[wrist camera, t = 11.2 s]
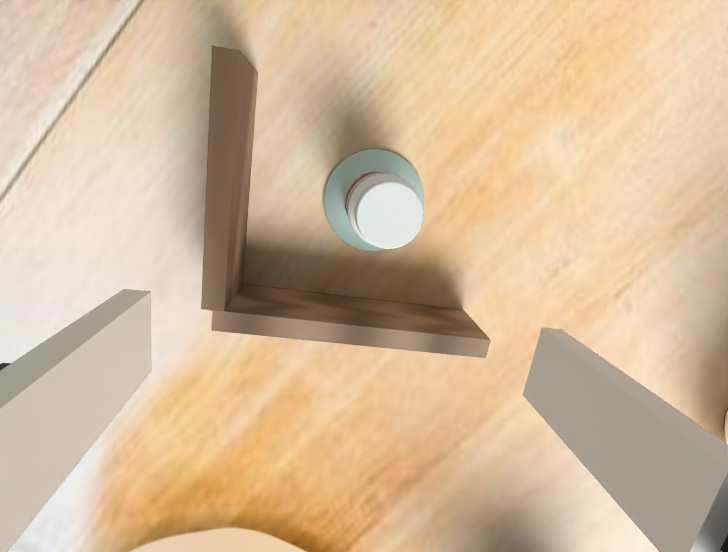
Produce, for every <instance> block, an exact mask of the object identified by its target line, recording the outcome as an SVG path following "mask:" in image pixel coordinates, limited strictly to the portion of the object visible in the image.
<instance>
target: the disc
mask: <svg viewBox="0 0 728 552" xmlns="http://www.w3.org/2000/svg"><path fill="white" fill-rule="evenodd" d="M372 171H378V172H384V173H389V174H395V175H398V176H400V177H402V178H404V179H405V180H406V181H408V182H409V183H410V184H411V185H412V187H413V188H414V189H415V191H416V193H417V195H418V197H419V199H420V201H421V204H422V208H423V207H424V192H423V187H422V183H421V181H420V178H419V176H418V174H417V172H416V171H415V170H414V168H413V167H412V166H411V165H410V164H409V163H408V162H407V161H406V160H405V159H404V158H402V157H401V156H399V155H397V154H395V153H392V152H390V151H386V150H380V149H369V150H363V151H360V152H357V153H355V154H352V155H350V156H349V157H347V158H346V159H344V160H343V161H342V162H341V163H340V164H339V165H338V166H337V167H336V168H335V169H334V171H333V172H332V174H331V176H330V178H329V180H328V182H327V185H326V189H325V194H324V208H325V213H326V217H327V220H328V222H329V224H330V226H331V228H332V229H333V231H334V232H335V233H336V234H337V236H338V237H339V238H341V239H342V240H343V241H344V242H346V243H347V244H349V245H351V246H353V247H355V248H358V249H361V250H366V251H381V250H386V249H384V248H379V247H376V246H374V245H371V244H369V243H367V242H365V241H363V240H362V239H361V238H359V237H358V236H357V235H356V233H355V232H354V231H353V229H352V227H351V225H350V222H349V219H348V216H347V213H346V210H345V195H346V191H347V189H348V187H349V185H350V184H351V183H352V181H353V180H354V179H356V178H357V177H358V176H360V175H362V174H364V173H367V172H372Z"/></svg>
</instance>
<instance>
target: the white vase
mask: <svg viewBox="0 0 728 552" xmlns="http://www.w3.org/2000/svg"><path fill="white" fill-rule="evenodd" d="M724 430H725V439H726V444H728V410H727V413H726V416H725V425H724Z"/></svg>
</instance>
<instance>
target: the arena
mask: <svg viewBox="0 0 728 552" xmlns="http://www.w3.org/2000/svg"><path fill="white" fill-rule="evenodd" d="M257 78H258V72H257V71H256V70H255V69H254V68H253V66H252V65H251V64H250V63H249V61H248V60H247V59H246V58H245V57H244V55H243V54H242V53H241V52H240V51H238V50H233V49H228V48H223V47H218V46H213V45H212V65H211V89H210V113H209V137H208V161H207V184H206V208H205V232H204V256H203V279H202V303H201V309H205V310H213V315H212V331H222V332H232V333H242V334H252V335H262V336H272V337H282V338H292V339H302V340H312V341H322V342H332V343H342V344H351V345H361V346H371V347H381V348H391V349H401V350H411V351H421V352H431V353H441V354H451V355H461V356H471V357H481V358H486V355H487V352H488V348H489V344H490V339H489V338H488V337H487V335H486V334H485V333H484V332H483V331H482V330H481V329H480V328H479V327H478V325H477V324H476V323H475V322H474V321H473V320H472V319H471V318H470V317H469V315H468V314H467V313H466V312H465V311H464V310H460V309H451V308H443V307H434V306H425V305H417V304H408V303H400V302H391V301H383V300H374V299H365V298H357V297H348V296H340V295H331V294H323V293H314V292H305V291H297V290H288V289H280V288H271V287H263V286H254V285H246V284H243V271H244V258H245V244H246V230H247V216H248V202H249V188H250V175H251V161H252V147H253V133H254V119H255V105H256V92H257Z"/></svg>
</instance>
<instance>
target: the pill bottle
mask: <svg viewBox="0 0 728 552" xmlns="http://www.w3.org/2000/svg"><path fill="white" fill-rule="evenodd" d="M345 210H346V213H347V216H348V219H349V222H350V225H351V227H352V229H353V231H354V232H355V233H356V235H357V236H358V237H359V238H361V239H362V240H363V241H365V242H367V243H369V244H371V245H374V246H376V247H379V248H384V249H394V248H398V247H401V246H403V245H405V244H407V243H408V242H410V241H411V240H412V239H413V238H414V237H415V236H416V234H417V233H418V231H419V229H420V227H421V224H422V220H423V208H422V204H421V201H420V199H419V197H418V195H417V193H416V191H415V189H414V188H413V187H412V185H411V184H410V183H409V182H408V181H406V180H405V179H404V178H402V177H400V176H398V175H395V174H389V173H384V172H378V171H372V172H367V173H364V174H362V175H360V176H358V177H357V178H356V179H354V180H353V181H352V183H351V184H350V185H349V187H348V189H347V191H346V195H345Z"/></svg>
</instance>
